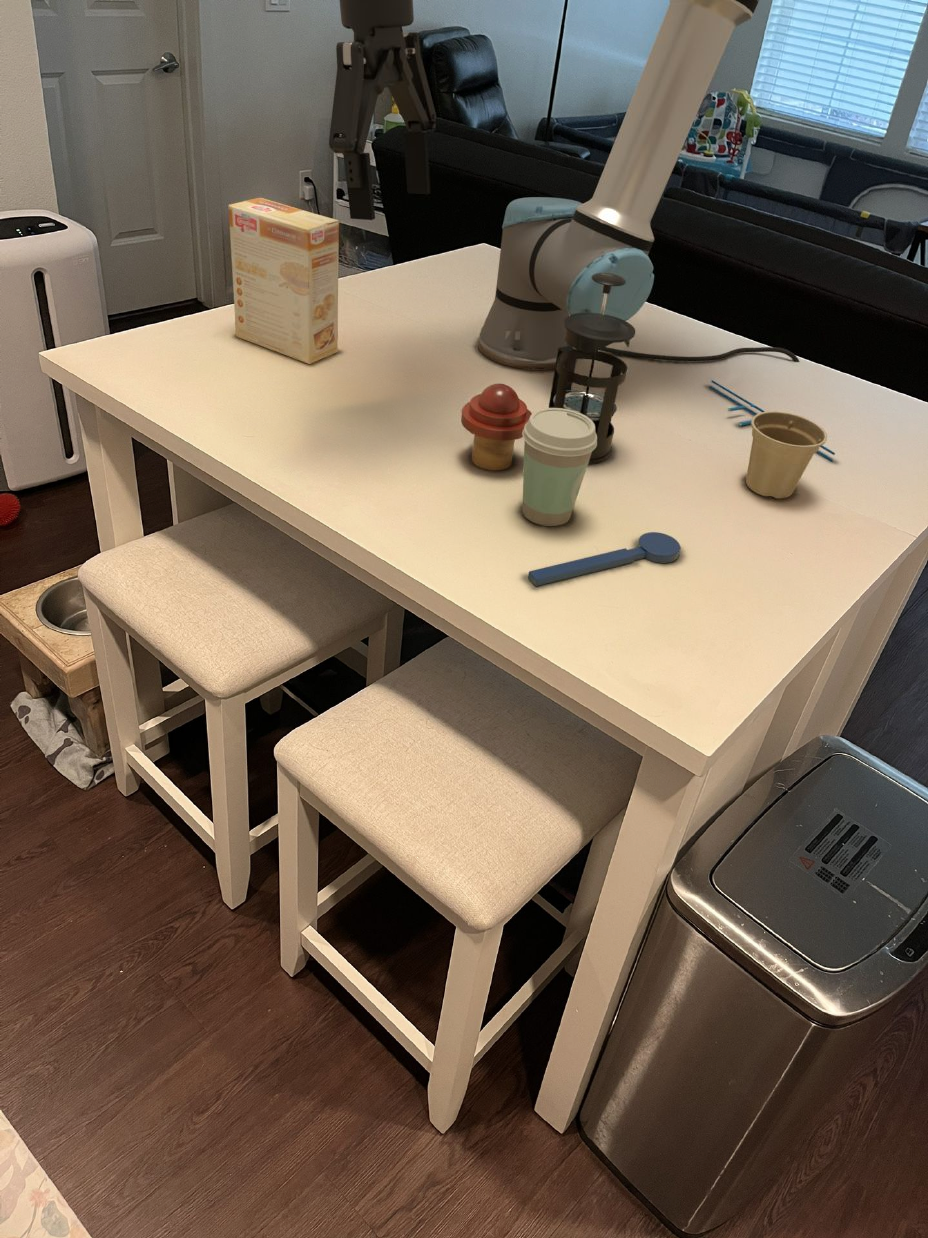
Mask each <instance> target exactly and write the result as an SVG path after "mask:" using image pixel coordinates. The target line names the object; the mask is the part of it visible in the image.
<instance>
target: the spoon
mask: <svg viewBox="0 0 928 1238" xmlns="http://www.w3.org/2000/svg"><path fill="white" fill-rule="evenodd" d="M680 551H681V545H680V542H679V541H678V540H677V539H676V538H675V537H673V536H671V535H668V534H666V533H663V532H659V531H657V532H656V531H650V532H649V531H648V532H645V533H643V534H642V535H641V536H639V539H638V542H637V546H636V547H633V548H630V549H627V548H626V547H625V548H621V549H616V550H613V551H608V552H605V553H600V554H596V555H592V556H588V557H583V558H578V559H575V560H570V561H566V562H563V563H562V562H561V563H558V564H554V565H550V566H545V567H542V568H537V569H533V570H529V571H528V575H527V579H528V580H529V581H530V582H531V583H532V584H533V586H535V587H538V586H543V585H548V584H551V583H555V582H559V581H563V580H566V579H572V578H575V577H579V576H583V575H588V574H591V573H595V572H599V571H602V570H608V569H612V568H615V567H619V566H623V565H627V564H630V563H633V562H634V561H638V560H642V559H646V560H648V561H651V562H653V563H658V564H659V563H660V564H668V563H673V562H674V561H676V560H677V559H678V558H679V555H680V553H681V552H680Z"/></svg>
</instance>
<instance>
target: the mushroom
mask: <svg viewBox="0 0 928 1238" xmlns="http://www.w3.org/2000/svg"><path fill="white" fill-rule="evenodd" d="M532 414H533V413H532V412H531V411H530V410H529V409H528V406H527V404H526V402H525V401H523V400H522V399H520V398H519V395H518V394H517V392H516V391H515V389H513V388H512V387H511V386H510V385H507V384H505V383H493V384H489V386H487V387H485V388H484V389H483V390H482V391H481V393H479V394H476V395H474V396H472V397H471V399H470V401H469V402H467V403H466V404H464V405H463V407H462V408H461V415H460V416H461V417H460V422H461V425H462V426H463V428H464V429H465V430H466V431H467V432H469V433H470V434H472V435H474V436H473V442H472V443H473V444H472V453H471V461H472V462H473V464H475V466H477V467H479V468H481V469H485V470H489V471H501V470H505V469H507V468H509V467H511V465H512V461H513V455H514V447H515V440H520V439H522V438H523V435H522V432H523V430H524V426H525V424H526V423H527V422H528V420H529V418H530V416H531V415H532Z"/></svg>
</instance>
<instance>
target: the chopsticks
mask: <svg viewBox="0 0 928 1238" xmlns="http://www.w3.org/2000/svg"><path fill="white" fill-rule="evenodd" d="M710 383H712V384H713V385H715V386H717V387H718V388H720V389H722V390H723V391H725V392H727V393H729V394H730V395H732V396H734V397H736V398H737V399H738V400H740V401H742V402H744V403H746V404H747V406H745V405H743V404H742V403H741V402H738V401H737V400H735V399H733V398H732V397H730V396H729V395H727V394H725V393H723V392H722V391H720V390H719V389H717V388H715V387H713V386H712V385H709V387H708V388H709V389H711V390H712V391H714V392H716V393H718V394H719V395H721V396H722V397H723V398H725V399H726V400H729V401H730V402H732V403H733V404H735V405H737V406H734V407H728V408H727V411H728V412H735V411H740V410H745V411H747V412H749V413H750V414H752V415H753V416H755V415H757V414H758V413H757V412H755V411H754V410H752V409H750V408H754V409H755V410H756V411H759V412H760V413H762V412H766V411H765V410H764V409H762V408H760V407H758V405H755V404H753V403H752V402H750V401H749V400H747V399H745V398H743V397H742V396H740V395H738V394H737V393H735V392H734V391H732V390H730V389H729V388H726V386H723V385H722V384H720V383H718V382H716V381H715V380H713V379H711V381H710ZM749 407H750V408H749ZM751 420H752V419H750V420H745V421H740V422H739V423H738V425H739V426H746V425H751ZM819 448H820V449H823V450H824V451H826V452H827V453H829V454H831V455H833V456H835V455H836V452H834V451H833V450H831V449H829V448H828V447H826V446H824V444H823V445H822V446H820V447H819ZM816 453H817V454H819V455H820V456H822V457H824V458H825V459H827V460H828V461H830V462H832V461H833V460H834V458H832V457H830V456H829V455H827V454H826V453H824V452H823V451H821V450H818V451H817V452H816Z"/></svg>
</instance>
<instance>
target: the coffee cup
mask: <svg viewBox="0 0 928 1238" xmlns="http://www.w3.org/2000/svg"><path fill="white" fill-rule="evenodd" d="M531 414H532V415H531V416H530V418H529V420H528V422H527V423H526V424H525V426H524V430H523V432H522V435H523V437H522V438H523V440H524V441H523V442H524V443H523V444H524V445H523V446H524V447H523V476H522V477H523V478H522V514H523V515H524V518H526V519H527V520H528V521H530V522H532V523H534V524H537V525H540V526H545V527H558V526H561V525H564V524H566V523H568V521H570V519H571V517H572V513H573V510H574V507H575V505H576V501H577V498H578V495H579V492H580V489H581V486H582V483H583V480H584V477H585V475H586V471H587V468H588V465H589V464H588V462H589V459H590V456H591V453H592V451H593V450H594V449H595V448H596V446H597V435H596V432H595V425H594V423H593V421H592V420H591V419H589V418H588V417H587V416H585V415H583V414H581V413H578V412H576V411H572V410H568V409H562V408H549V407H548V408H547V407H546V408H541V409H538V410H536V411H534V412H533V413H531Z"/></svg>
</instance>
